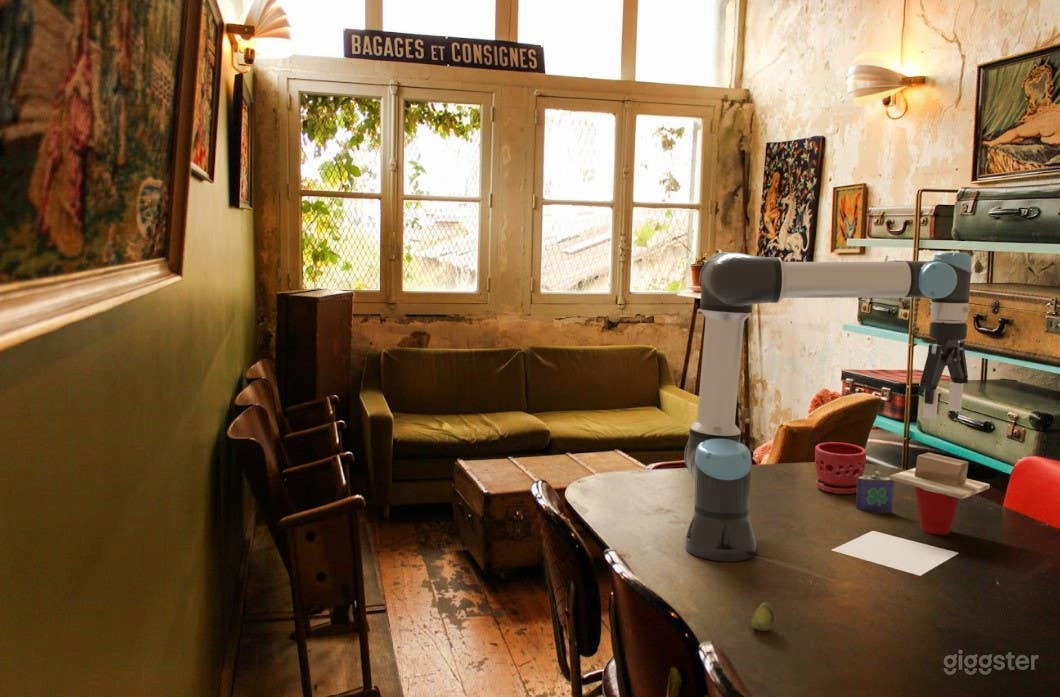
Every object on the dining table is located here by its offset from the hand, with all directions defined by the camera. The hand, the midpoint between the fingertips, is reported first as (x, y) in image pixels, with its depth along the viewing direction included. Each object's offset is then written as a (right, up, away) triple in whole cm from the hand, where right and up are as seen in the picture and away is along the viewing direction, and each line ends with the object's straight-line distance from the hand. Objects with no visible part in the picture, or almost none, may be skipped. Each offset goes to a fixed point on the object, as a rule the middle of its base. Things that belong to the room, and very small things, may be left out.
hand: (942, 414), depth 190 cm
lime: (-54, -34, -46) cm, 78 cm away
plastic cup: (0, -28, +3) cm, 28 cm away
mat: (-16, -30, -11) cm, 35 cm away
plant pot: (-9, -24, +39) cm, 47 cm away
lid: (0, -16, +2) cm, 16 cm away
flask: (-7, -26, +19) cm, 33 cm away
